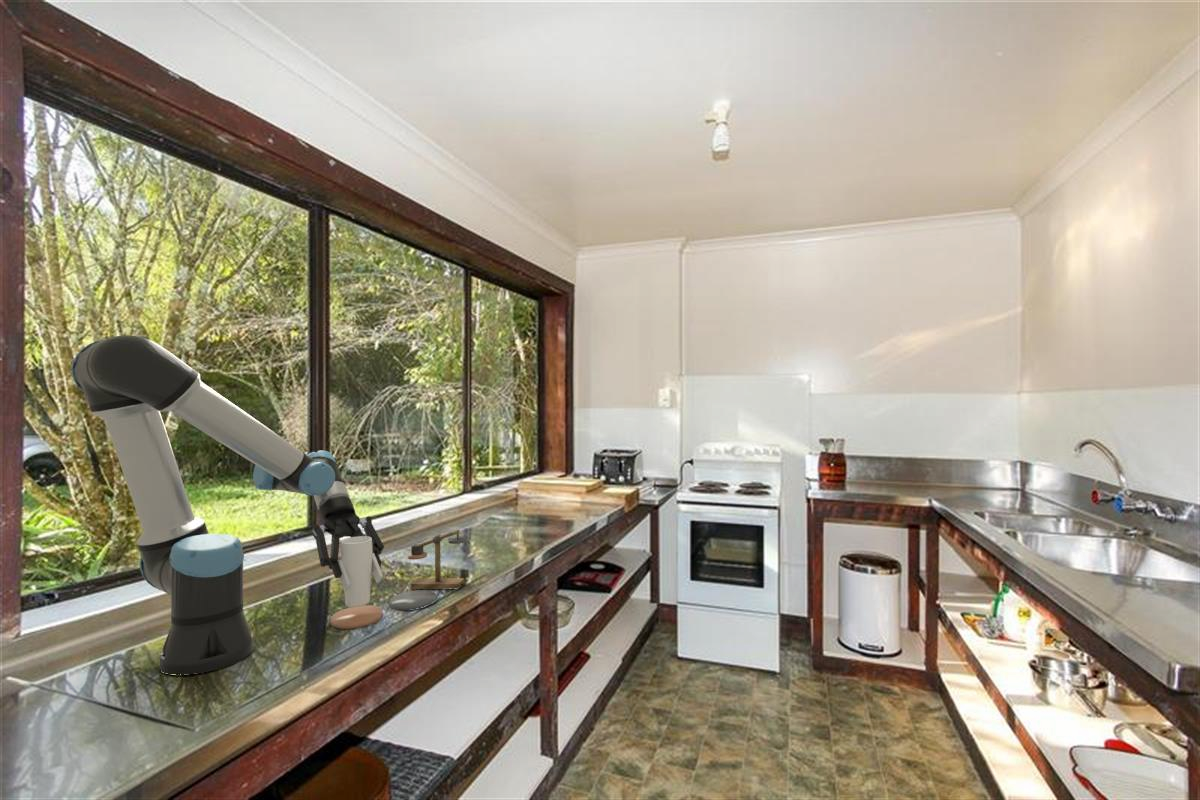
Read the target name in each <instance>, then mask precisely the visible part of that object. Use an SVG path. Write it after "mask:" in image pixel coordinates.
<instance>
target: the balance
mask: <svg viewBox="0 0 1200 800" xmlns="http://www.w3.org/2000/svg"><path fill="white" fill-rule="evenodd" d="M459 533H460V529H455V530H452V531H451V532H447V533H444V534H441V533H439V534H436V535H435V536H433V537H432V538H431V539H428V540H426V541H424V542H420V543H415V544H413V545H411V552H410V553H408V554H407V558H408V560H421V559H422V560H423V559H425V558H427V557H428V552H426V551H424V547H425V546H428V545H430V544H434V571H435V572H434V575H435V576H434V577H418V578H417V579H415V580H414V581H412V583H411V584H410V591H415V590H416V589H444V588H458V587H460V586H461V584H462V583H463V582H464V583H465V578H463V577H460V578H459V577H457V578H456V577H455V578H454V577H453V578H452V577H450V578H449V577H441V575H442V574H441V570H442V569H441V568H442V567H441V542H442V540H444V539H446V538H448V539H447V541H448V544H451V545H459V544H465V543H467V542H468V537H466V536H460V535H459ZM454 535H456V536H454Z"/></svg>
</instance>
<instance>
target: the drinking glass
mask: <svg viewBox="0 0 1200 800" xmlns="http://www.w3.org/2000/svg"><path fill="white" fill-rule="evenodd" d="M372 557H373V547H372V538H371V537H368V536H367V535H365V536H358V537H347V538H345V539H342V540H340V560H342V561H343V563H344V566H345V569H346V572H347V575H348V578H349V580H350V583H351V585H350V587H349V589H348V591H345V592H344V604H345V606H346V607H347V608H350V607H360V606H364V605H367V604H369V602H370V601H371V586H372V585H371V583H372Z"/></svg>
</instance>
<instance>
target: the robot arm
mask: <svg viewBox="0 0 1200 800" xmlns="http://www.w3.org/2000/svg"><path fill="white" fill-rule="evenodd" d="M71 376H72V379H73V382H74V383H75V384H76V386H77V388H79V389H80V391H82V392H83V394H84V396H85V399H86V402H87V404H88V407H89V410H90V413H91V414H92V415H94V416H96V417H98V418H100V419H103V420H104V421H105V425H106V426H107V431H108V433H109V436H110V439H111V442H112V444H113V447H114V450H115V454H116V456H117V459H118V460H117V461H118V462H119V465H120V467H121V472H122V474H123V477H124V480H125V483H126V485H127V488H128V491H129V495H130V497H131V500H132V503H133V506H134V508H135V511H136V515H137V519H139V523H140V525H141V528H142V533H141V535H140V536H139V537H138V538H137V540H136V544H137V547H138V551H139V553H140V559H139V570H140V573H141V576H142V578H143V579H144V581H146V583H148V585H150V586H151V587H153V588H155V589H157V590H159V591H162V592H164V593H165V594H168V595H169V596H170V628H169V630H168V633H167V636H166V639H165V641H164V644H163V648H162V651H161V653H160V655H159V671H160V670H161V671H162V672H164V673H168V674H176V675H180V674H181V675H184V674H194V673H201V674H205V673H204V672H206V673H210V672H214V671H217V670H221V669H224V668H226V667H228V666H231V665H234V664H236V663H238V662H240V661H242V660H244V659H245V658H247V657H248V656H249V655H251V654H252V653H253V651H254V648H255V646H254V641H255V640H254V634H253V632H251V629H250V627H249V624H248V620H247V618H246V615H245V613H244V560H245V559H244V558H245V554H244V551H243V544H242V541H241V540H240V539H239V538H238V537H237V536H234V535H231V534H225V533H223V534H220V533H209V530H208V528H207V525H206V521H205V519H202V518H200V517H197V516H196V515H194V512H193V509H192V507H191V504H190V503H191V502H190V500H189V496H188V495H187V491H186V487H185V485H184V482H183V480H182V479H183V478H182V476H181V472H180V470H179V466H178V464H177V460H176V458H175V454H174V451H173V448H172V445H171V441H170V438H169V436H168V431H167V429H166V426H165V423H164V420H163V416H162V414H161V413H162V412H170V413H172V414H174V415H175V416H177V417H179V418H180V419H182V420H183V421H185V422H187V423H188V424H190V425H191V426H193V427H194V428H196V429H198V430H199V431H201V432H203V433H204V434H206V435H207V436H209V437H211V438H212V439H213V440H215V441H217V442H218V443H220V444H222V445H224V446H225V447H227V448H228V449H230V450H232V451H233V452H235V453H236V454H238V455H240V456H241V457H243V458H244V459H245V460H247V461H249V462H250V463H252V464H253V465H254V468H253V474H252V475H253V476H252V479H253V480H252V481H253V484H254V487H255V488H256V489H258V490H259V491H260V490H262V491H270V492H272V491H284V492H289V493H296V494H301V495H305V496H311V497H312V496H313V498H314V502H315V505H316V507H317V510H318V514H319V516H320V519H321V521H322V525H321V524H320V525H319V524H315V525H314V526H313V528H312V531H311V535H312V536H313V538H314V539H315V543H316V548H317V552H318V557H319V558H318V559H319V563H320V564H319V565H320V566H321V567H322V568H323V567H326V566H328V568H329V569H330V570H332V574H333V576H334V578H335V579H339V581H340V585H341V586H342V589H343V592H344V593H345V591H348V589H349V587H350V585H351V583H350V580H349V578H348V575H347V572H346V569H345V566H344V563H343V561H342V560H341V559H340V560H339V552H340V551H339V550H340V542H341V540H340V539H343V538H344V537H347V538H351V537H358V536H368V537H371V538H372V547H373V557H372V571H371V574H372V576H373V577H374V581H375V583H376V584H379V583H380V582H381V581H382V579H383V578H384V575H383V572H382V570H381V567H382V563H383V562H382V560H381V557H380V555H381V554H382V552H383V550H384V548H385V546H384V544H383V542H382V540H381V539H380V536H379V534H378V533H377V530H376V528H375V527H374V525H373V522H372V521H373V520H372V517H371V516H369V515H368V516H366V518H360V517H359V516H358V515H357V514H356V511H355V507H354V505H353V502H352V500H351V497H350V495H349V492H348V490H347V489H348V488H347V487H346V484H345V482H344V479H343V476H342V473H341V471H340V469H339V464H338V462H337V461H336V459H335V457H334V456H333V454H332V453H331V452H330V451H328V450H318V451H316V452H315V451H312V452H310V453H308V454H306V453H305V452H303V451H302V450H300V449H299V448H298V447H296V446H294V445H293V444H292V443H290V442H289V441H288V440H286V439H284V438H283V437H282V436H280V435H279V434H277V433H276V432H275V431H273V430H272V429H270V428H269V427H267V425H264V424H263V423H261V421H259V420H257V419H255V418H254V417H253V416H251V415H250V414H249V413H247V412H246V411H244V410H243V409H241V408H240V407H239V406H238V405H235V403H233V402H231V401H230V400H228V398H225V397H224V396H222V395H221V394H220V393H218V392H217V391H216V390H214V389H213V388H211V387H210V386H208V385H207V384H205V383H204V382H203V381H202V380H201V374H200V373H199V372H198V371H196V370H195V369H194V368H192V367H191V366H189V365H188V364H186V362H184V361H182V360H181V359H180V358H178V357H177V356H176V355H174V354H173V353H171V352H170V351H169V350H167V349H166V348H164V346H162V345H161V344H158V343H156V342H155V341H153V340H150V339H148V338H145V337H142V336H138V335H130V334H129V335H128V334H124V335H123V334H122V335H116V336H111V337H109V338H105V339H101V340H96V341H94V342H91V343H89V344H87V345H86V346H85V347H83V348H82V349H81V350H79V352H78V353H77V354H76V355H75V357H74V359H73V361H72V364H71ZM359 525H360V526H361V527H359ZM361 528H362V529H363V530H364V533H365V534H364V533H363V532H362V529H361ZM325 532H327V533H328V534H329V535H331V540H330V542H331V546H330V555H329V552H328V547H327V542H326V538H325V537H326V536H325V534H324V533H325ZM213 670H214V671H213ZM209 671H210V672H209ZM202 672H203V673H202Z"/></svg>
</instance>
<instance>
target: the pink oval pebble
mask: <svg viewBox="0 0 1200 800" xmlns="http://www.w3.org/2000/svg"><path fill="white" fill-rule="evenodd" d="M383 612H384V611H383V609H382V607H381V606H377V605H367V604H366V605H364V606H360V607H347V608H344V609H341V610H338V611H336V612H335V613H334V614H332V615H331V617H330V626H332V628H335V629H339V630H340V629H341V630H349V629H350V630H352V629H359V628H362V627H363V628H364V627H367V626H370V625H373V624H375V623H377V622H378V621H381V619H382V618H383Z"/></svg>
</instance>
